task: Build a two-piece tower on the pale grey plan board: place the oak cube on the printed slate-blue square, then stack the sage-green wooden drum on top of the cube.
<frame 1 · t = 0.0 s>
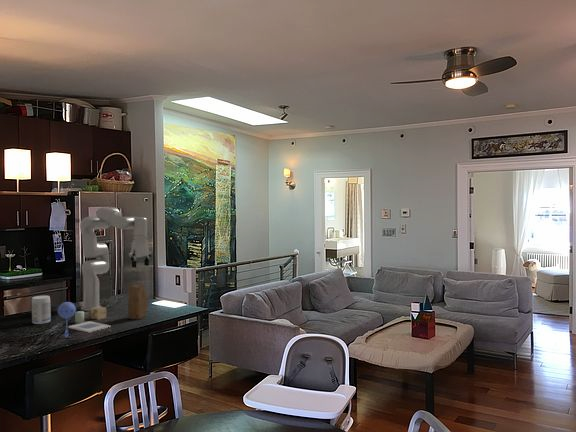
hand: (140, 266, 291), 31 cm above the counter, tool pointing down, fingers open, 9 cm apart
baby rattle: (66, 337, 251), on the counter
supplement tub: (41, 322, 279), on the counter
sage drum: (79, 322, 280), on the counter
block: (137, 318, 293), on the counter
oak cube: (98, 318, 291), on the counter
plan board: (89, 327, 269), on the counter
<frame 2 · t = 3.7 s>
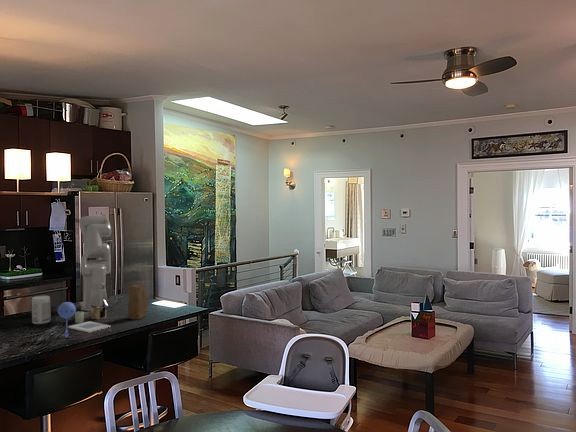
hand: (98, 316, 291), 1 cm above the counter, tool pointing down, fingers closed on oak cube, 6 cm apart
oak cube: (98, 318, 291), on the counter, touching gripper
everything else where it was.
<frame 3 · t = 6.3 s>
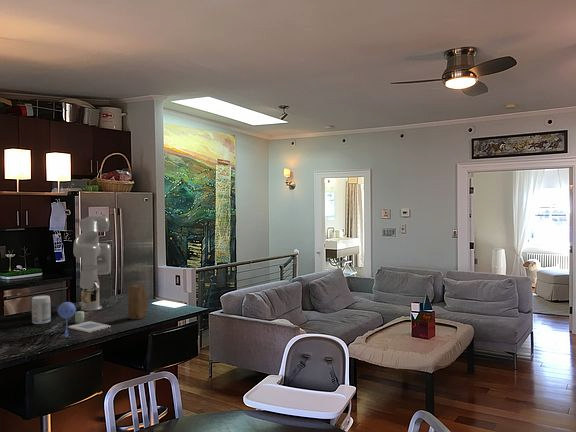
hand: (89, 300, 269), 15 cm above the counter, tool pointing down, fingers closed on oak cube, 6 cm apart
oak cube: (89, 301, 269), point 14 cm above the counter, touching gripper
everything else where it was.
when the fingers open (3 cm above the counter, at t = 9.0 s): oak cube stays where it is, resting on plan board.
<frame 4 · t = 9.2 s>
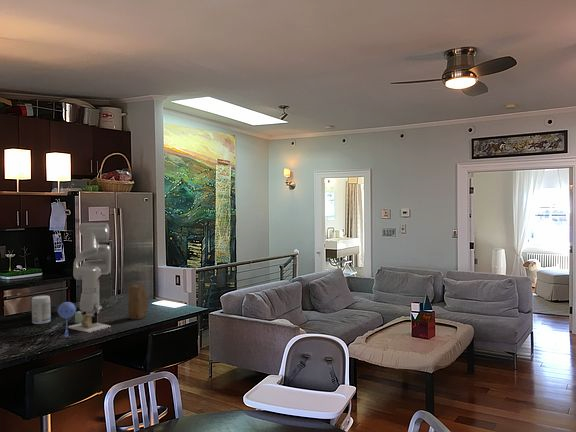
hand: (89, 321, 269), 3 cm above the counter, tool pointing down, fingers open, 8 cm apart
oak cube: (89, 325, 270), point 1 cm above the counter, touching plan board
everything else where it was.
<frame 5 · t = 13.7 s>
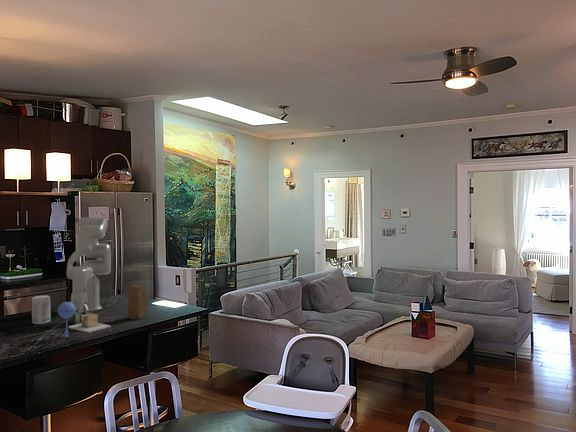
hand: (79, 321, 280), 1 cm above the counter, tool pointing down, fingers closed on sage drum, 4 cm apart
sage drum: (79, 322, 280), on the counter, touching gripper
everything else where it was.
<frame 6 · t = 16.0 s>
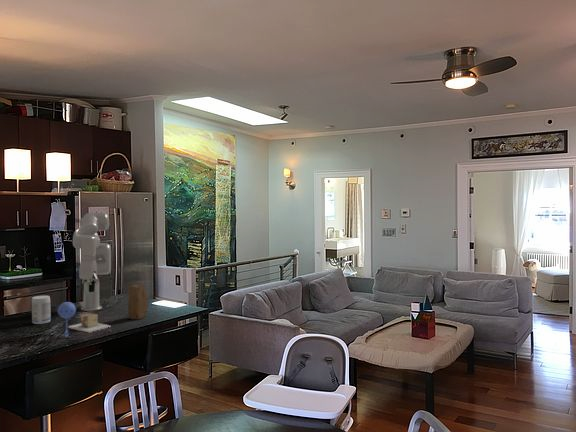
hand: (88, 291, 269), 20 cm above the counter, tool pointing down, fingers closed on sage drum, 4 cm apart
sage drum: (88, 292, 269), point 19 cm above the counter, touching gripper
everything else where it was.
when the fingers open (9 cm above the counter, at t = 18.5 s): sage drum drops 1 cm, resting on oak cube.
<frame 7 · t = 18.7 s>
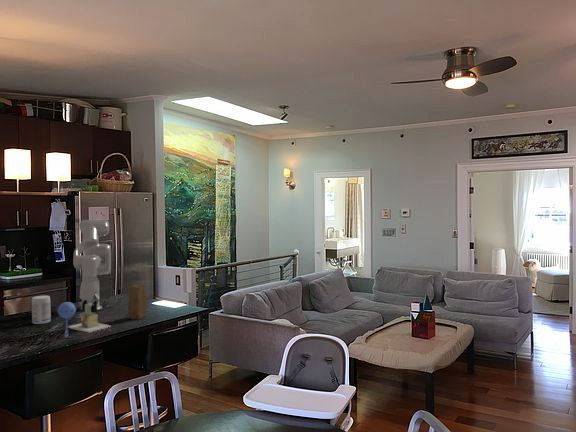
hand: (89, 311, 269), 9 cm above the counter, tool pointing down, fingers open, 7 cm apart
sage drum: (89, 314, 269), point 7 cm above the counter, touching oak cube
oak cube: (89, 325, 269), point 1 cm above the counter, touching plan board, sage drum
everything else where it was.
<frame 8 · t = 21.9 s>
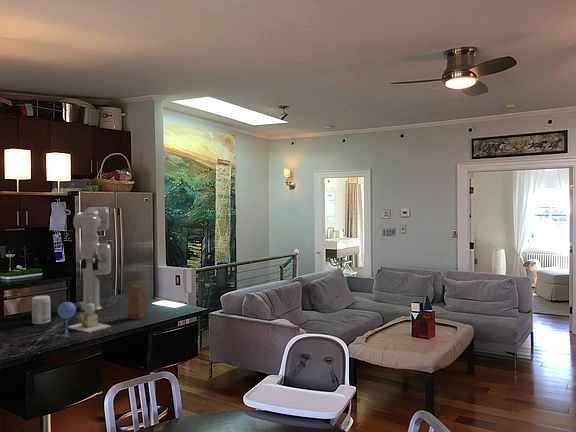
hand: (89, 269, 268), 32 cm above the counter, tool pointing down, fingers open, 9 cm apart
nothing on the counter moved.
at the end: oak cube inside the target area on the plan board (0.0 cm from its centre), point 0.9 cm above the plan board's base; sage drum 0.1 cm off-centre on the oak cube, point 6.0 cm above the oak cube's base; sage drum tilted 0° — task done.
